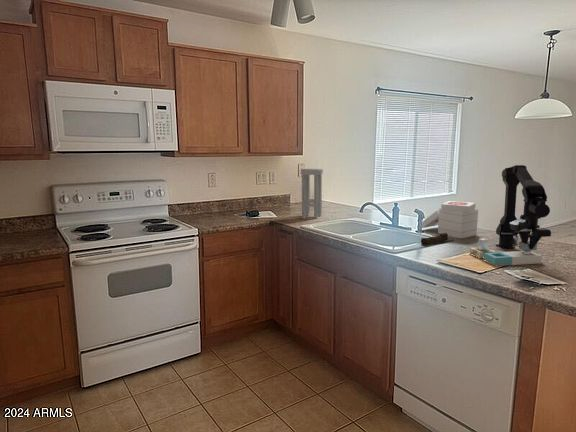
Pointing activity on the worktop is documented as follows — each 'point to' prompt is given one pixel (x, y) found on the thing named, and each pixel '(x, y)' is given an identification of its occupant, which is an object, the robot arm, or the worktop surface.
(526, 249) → the gray rectangular block
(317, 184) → the stool
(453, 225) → the pizza boxes
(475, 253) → the frame
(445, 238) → the hand tool
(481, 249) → the pin
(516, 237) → the white blue elongated body
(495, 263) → the dock
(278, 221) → the worktop surface
